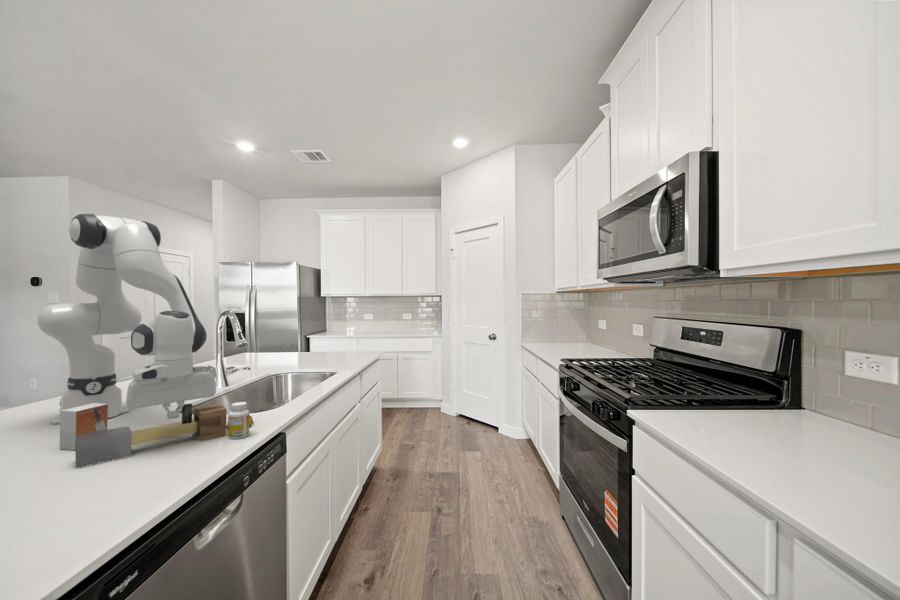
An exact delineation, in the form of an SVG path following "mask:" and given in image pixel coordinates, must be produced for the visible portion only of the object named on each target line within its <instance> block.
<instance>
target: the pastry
mask: <svg viewBox="0 0 900 600" xmlns="http://www.w3.org/2000/svg"><path fill="white" fill-rule="evenodd" d="M252 424H253V416H251V415H250V414H249V428H250V427H251V425H252ZM226 430H228V423H226Z"/></svg>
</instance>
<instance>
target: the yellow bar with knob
mask: <svg viewBox="0 0 900 600" xmlns="http://www.w3.org/2000/svg"><path fill="white" fill-rule="evenodd" d="M131 431H132V437H131V447H132V446H137V445H141V444H146V443H151V442H154V441H155V442H156V441H160V440H163V439H164V440H165V439H169V438H174V437H179V436H183V435H188V434H194V432H199V418H198V419H194V418H193V403H184V406H183V407H182V409H181V421H178V422H173V423H167V424H162V425H155V426H149V427H146V428H140V429H136V430H135V429H134V430H131Z"/></svg>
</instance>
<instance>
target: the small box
mask: <svg viewBox="0 0 900 600" xmlns="http://www.w3.org/2000/svg"><path fill="white" fill-rule="evenodd" d="M59 414H60V423H59V446H58V447H59V449H60V450H67V449H68V450H67V451H76V435H81V434H87V433H92V432H98V431H104V430H108V420H109V418H108V404H101V403H90V404H87V405H83V406H79V407H74V408H70V409H65V410H61V411H60V410H59Z"/></svg>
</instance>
